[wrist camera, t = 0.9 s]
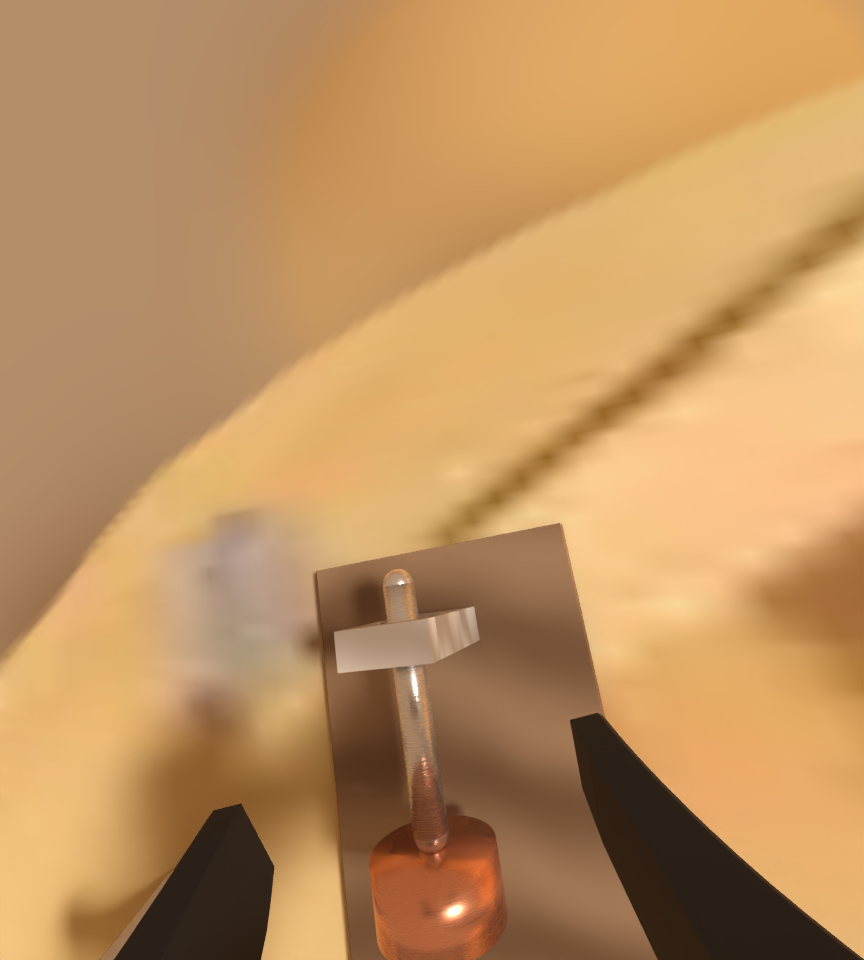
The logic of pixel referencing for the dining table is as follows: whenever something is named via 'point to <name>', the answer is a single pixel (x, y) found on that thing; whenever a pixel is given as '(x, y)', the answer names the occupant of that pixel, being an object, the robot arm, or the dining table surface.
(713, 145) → the dining table surface
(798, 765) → the dining table surface
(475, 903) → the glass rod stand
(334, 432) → the dining table surface
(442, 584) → the board
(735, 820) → the dining table surface
